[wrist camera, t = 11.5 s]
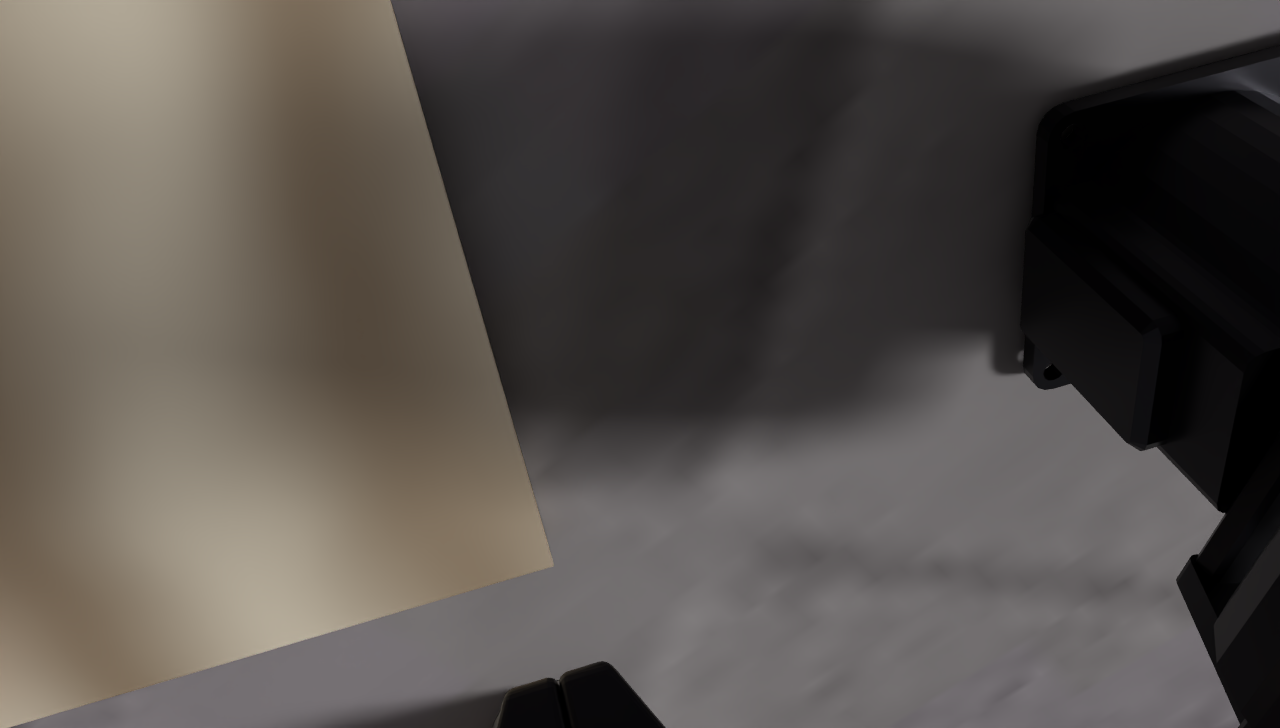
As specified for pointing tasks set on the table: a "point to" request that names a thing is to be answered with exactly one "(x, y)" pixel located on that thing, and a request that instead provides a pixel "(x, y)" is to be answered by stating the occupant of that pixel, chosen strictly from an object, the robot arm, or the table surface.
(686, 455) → the table surface
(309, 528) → the beige flat board
